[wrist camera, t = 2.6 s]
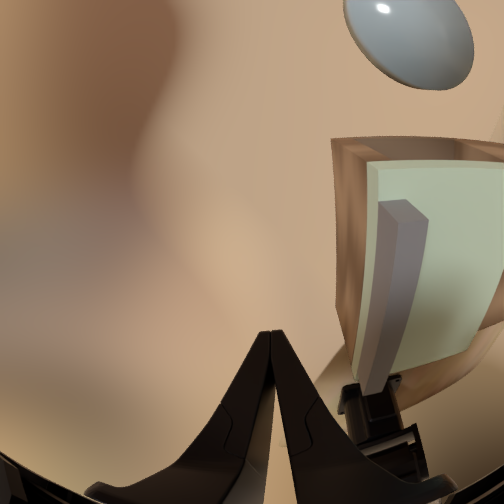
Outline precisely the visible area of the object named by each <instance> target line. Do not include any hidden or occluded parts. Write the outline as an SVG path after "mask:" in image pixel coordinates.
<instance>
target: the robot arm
mask: <svg viewBox="0 0 504 504" xmlns="http://www.w3.org/2000/svg"><path fill="white" fill-rule="evenodd" d="M401 380H402V377H401V375H396V376H392V377H388V378H387V381H386V383H385V386H384V388H383V390H382V392H379V393H375V394H370V395H366V396H363V395H362V391H361V387H360V384H356V385H350V386H346V387H343V388H342V390H341V395H340V400H339V405H338V410H337V412H338V415H342V414H345V418H346V424H347V430H348V435H347V434H346V433H345V432H344V431H343V429H342V428H341V427H340V426H339V424H338V423H337V422H336V420H335V419H334V418H333V416H332V415H331V413H330V412H329V410H328V409H327V407H326V405H325V404H324V402H323V400H322V399H321V397H320V395H319V394H318V392H317V390H316V388H315V387H314V385H313V383H312V381H311V380H310V378H309V376H308V374H307V373H306V371H305V369H304V367H303V366H302V364H301V362H300V360H299V358H298V357H297V355H296V353H295V352H294V350H293V348H292V346H291V344H290V343H289V341H288V339H287V337H286V335H285V334H284V332H283V330H272V331H271V332H270V331H261V332H259V334H258V335H257V337H256V339H255V341H254V343H253V345H252V346H251V348H250V351H249V352H248V354H247V356H246V358H245V359H244V361H243V363H242V365H241V367H240V368H239V370H238V372H237V374H236V376H235V377H234V379H233V381H232V383H231V385H230V386H229V388H228V390H227V392H226V393H225V395H224V397H223V399H222V400H221V404H219V405H218V407H217V409H216V411H215V412H214V414H213V415H212V417H211V418H210V420H209V421H208V423H207V424H206V426H205V427H204V428H203V430H202V431H201V432H200V433H199V435H198V436H197V437H196V439H195V440H194V441H193V442H192V443H191V445H190V446H189V447H188V448H187V449H186V451H185V452H184V453H183V454H182V455H181V456H180V458H179V459H178V460H177V461H175V462H174V463H173V464H172V465H170V466H169V467H167V468H165V469H163V470H161V471H160V472H157V473H155V474H154V475H151V476H149V477H148V478H145V479H143V480H141V481H139V482H137V483H135V484H132V485H130V486H126V487H114V486H111V485H108V484H105V483H102V482H96V483H95V484H93V485H92V486H90V487H89V488H87V490H86V491H85V492H84V495H85V496H87V497H90V498H91V499H94V500H96V501H98V502H101V503H103V504H263V501H264V493H265V485H266V477H267V468H268V460H269V451H270V442H271V432H272V423H273V412H274V401H275V389H276V390H277V395H278V401H279V406H280V412H281V416H282V422H283V428H284V433H285V438H286V444H287V449H288V454H289V459H290V465H291V470H292V476H293V481H294V487H295V493H296V499H297V504H442V502H441V498H442V497H444V496H446V495H448V494H450V493H452V492H454V491H456V490H457V489H458V486H457V485H456V483H455V482H454V481H453V480H452V479H451V478H450V477H449V476H448V475H447V474H445V473H443V474H441V475H438V476H435V477H433V478H430V479H429V474H428V468H427V463H426V459H425V454H424V450H423V446H422V442H421V439H420V435H419V432H418V428H417V424H416V423H415V424H412V425H411V426H410V427H408V428H405V429H404V426H403V422H402V419H401V415H400V411H399V408H398V404H397V400H396V397H395V392H396V390H397V388H398V386H399V384H400V382H401ZM412 440H415V443H412V444H410V445H408V442H410V441H412ZM426 479H428V480H426ZM423 480H425V481H423ZM422 481H423V482H422ZM91 499H88V498H86V497H84V496H82V495H80V494H78V493H75V492H73V491H71V490H69V489H67V488H65V487H63V486H60V485H59V484H56V483H54V482H52V481H50V480H48V479H46V478H44V477H42V476H40V475H39V474H36V473H35V472H33V471H31V470H30V469H28V468H26V467H24V466H23V465H21V464H19V463H18V462H16V461H14V460H13V459H11V458H10V457H8V456H7V455H5V454H4V453H2V452H1V451H0V504H100V503H98V502H95V501H93V500H91ZM445 504H504V464H503V465H502V466H500V467H499V468H497V469H496V470H494V471H493V472H491V473H489V474H488V475H486V476H485V477H483V478H481V479H480V480H478V481H476V482H474V483H473V484H471V485H469V486H467V487H465V488H464V489H462V490H460V491H458V492H456V493H454V494H452V495H450V496H449V497H448V499H447V500H446V502H445Z"/></svg>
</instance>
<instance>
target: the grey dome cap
mask: <svg viewBox="0 0 504 504" xmlns="http://www.w3.org/2000/svg"><path fill="white" fill-rule="evenodd" d="M343 11H344V17H345V21H346V24H347V27H348V29H349V32H350V34H351V36H352V38H353V39H354V41H355V43H356V44H357V46H358V47H359V49H360V50H361V52H362V53H363V54H364V55H365V56H366V58H367V59H368V60H369V61H370V62H371V63H372V64H373V65H374V66H375V67H377V68H378V69H379V70H380V71H381V72H383V73H384V74H386V75H387V76H388V77H390V78H392V79H393V80H395V81H397V82H399V83H401V84H403V85H406V86H409V87H412V88H416V89H425V90H447V89H451V88H454V87H456V86H457V85H459V84H460V83H462V82H463V81H464V80H465V79H466V77H467V76H468V74H469V72H470V70H471V68H472V64H473V60H474V43H473V37H472V34H471V30H470V27H469V25H468V22H467V20H466V18H465V16H464V14H463V12H462V11H461V9H460V8H459V6H458V5H457V3H456V2H455V1H454V0H343Z"/></svg>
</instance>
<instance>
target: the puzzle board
mask: <svg viewBox="0 0 504 504" xmlns="http://www.w3.org/2000/svg"><path fill="white" fill-rule="evenodd" d="M331 148H332V158H333V172H334V188H335V206H336V207H335V208H336V246H337V247H336V248H337V249H336V250H337V251H336V252H337V267H336V310H337V314H338V317H339V321H340V325H341V328H342V332H343V336H344V339H345V344H346V347H347V351H348V355H349V360H350V364H351V366H352V361H353V355H354V349H355V343H356V337H357V331H358V324H359V316H360V309H361V300H362V291H363V281H364V269H365V255H366V237H367V162H373V161H396V160H466V161H486V162H501V163H504V144H501V143H494V142H486V141H478V140H467V139H457V138H442V137H417V136H376V137H375V136H374V137H350V138H333V139H331ZM501 321H504V270H503V272H502V275H501V278H500V281H499V283H498V286H497V288H496V291H495V293H494V296H493V298H492V301H491V303H490V305H489V307H488V310H487V312H486V314H485V316H484V318H483V320H482V322H481V324H480V326H479V328H478V330H477V331H479V330H482V329H484V328H487V327H489V326H492V325H494V324H497V323H499V322H501Z"/></svg>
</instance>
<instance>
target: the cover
mask: <svg viewBox="0 0 504 504" xmlns="http://www.w3.org/2000/svg"><path fill="white" fill-rule="evenodd" d="M503 270H504V163H501V162H486V161H466V160H396V161H373V162H367V237H366V255H365V269H364V281H363V291H362V300H361V309H360V316H359V324H358V331H357V337H356V343H355V349H354V355H353V361H352V366H351V368H352V372H353V376H354V381H359V382H360V387H361V391H362V395H363V396H366V395H370V394H375V393H379V392H382V390H383V388H384V386H385V383H386V381H387V378H388V376H389V374H391V373H395V372H399V371H403V370H407V369H411V368H414V367H418V366H421V365H424V364H428V363H431V362H434V361H437V360H440V359H443V358H446V357H449V356H452V355H455V354H457V353H460V352H463V351H466V350H467V349H468V347H469V345H470V344H471V342H472V340H473V338H474V336H475V334H476V332H477V330H478V328H479V326H480V324H481V322H482V320H483V318H484V316H485V314H486V312H487V310H488V307H489V305H490V303H491V301H492V298H493V296H494V293H495V291H496V288H497V286H498V283H499V281H500V278H501V275H502V272H503Z"/></svg>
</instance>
